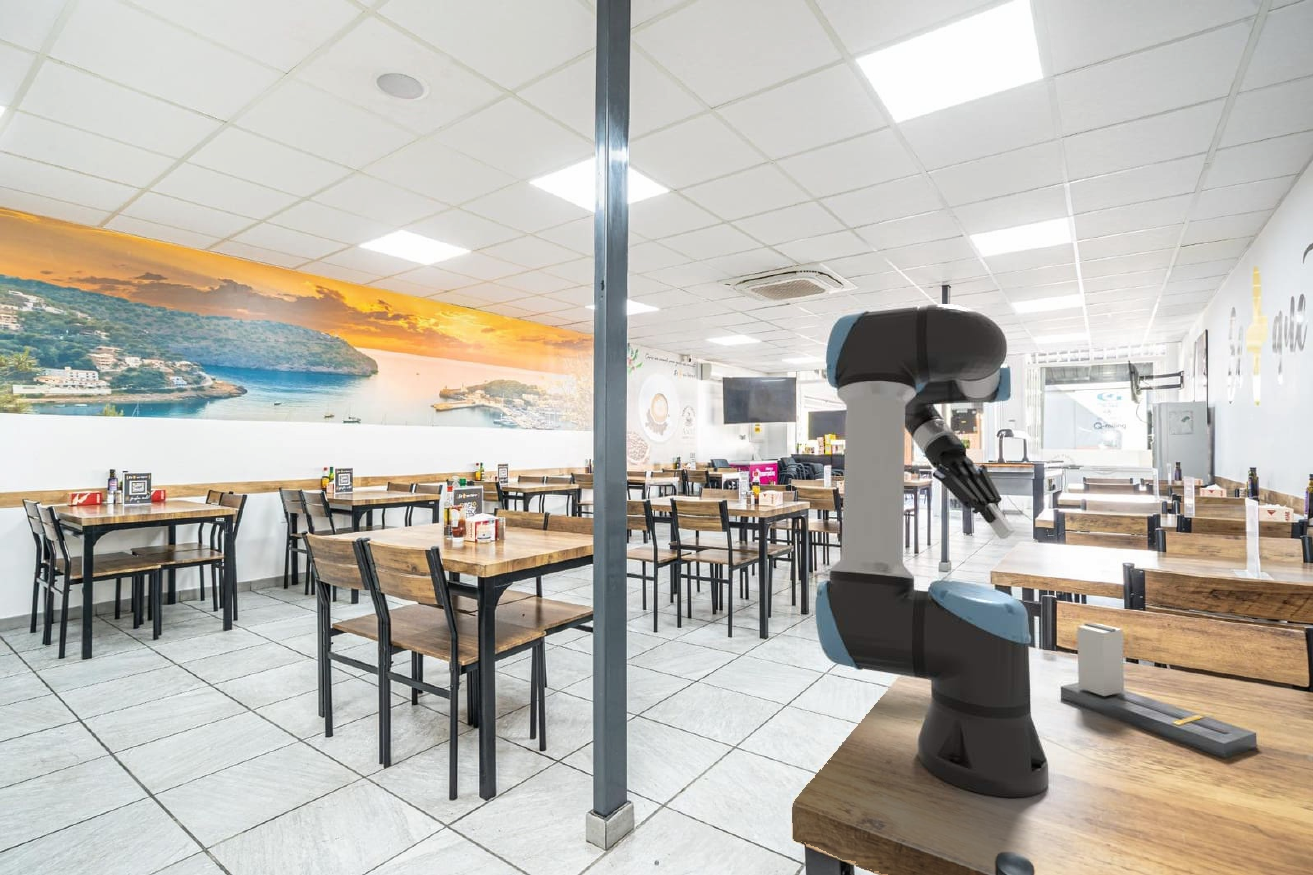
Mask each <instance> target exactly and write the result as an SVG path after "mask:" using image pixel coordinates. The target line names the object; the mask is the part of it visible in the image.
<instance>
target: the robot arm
mask: <svg viewBox="0 0 1313 875" xmlns="http://www.w3.org/2000/svg"><path fill="white" fill-rule="evenodd" d="M1007 345H1008V343H1007V339H1006V336H1005V333H1004V332H1003V330H1002V329H1001V327H999V325H998V324H997V323H996V322H994V320H992V319H991V318H990V317H988V316H986V315H984V314H982V313H980V312H978V311H975V310H973V309H970V308H966V307H964V306H963V307H962V306H960V305H956V304H955V305H954V304H948V303H947V304H945V303H944V304H943V303H937V304H936V303H935V304H928V305H922V306H913V307H904V308H894V309H885V310H876V311H875V310H874V311H869V310H865V311H862V312H859V313H854V314H847V315H844V316H842V317H840V318H839V319H838V320H837V321H836V322H835V323H834V325H833V327H832V329H831V331H830V333H829V338H828V341H827V347H826V353H825V354H826V356H825V364H826V378H827V381H828V384H829V385H830V386H831V387H832V388H835V389H836V391H837V392H836V395H837V398H839V399H840V401H842V403H844V404H845V405H846V412H845V417H846V418H845V439H844V440H845V442H844V467H843V468H844V472H843V473H844V474H843V495H842V496H843V501H842V523H841V524H842V527H841V530H842V531H841V553H840V554H841V556H840V560H838V561H837V562H836V563H835V564H834V565H832V567H830V569H829V579H828V580H827V579H826V580H823V581H821V582H820V583H819V584H818V585H817V588H816V597H815V605H814V606H815V622H816V630H817V634H818V635H817V636H818V639H819V643H820V646H821V649H822V651H823V653H824V654H825V656H826V658H827V659H828V660H829V661H831V663H834V664H838V665H841V666H845V667H851V668H855V669H856V670H859V671H862V670H869V671H874V672H880V673H886V674H894V675H900V676H905V677H912V678H918V679H922V680H923V679H924V680H929V681H930V683H931V684H930V685H931V686H930V687H931V690H930V692H931V694H930V695H931V698H930V703H929V705H928V708H927V711H926V714H925V717H924V719H923V723H922V726H921V729H920V732H919V735H918V740H917V744H918V745H917V747H918V748H917V752H918V754H917V755H918V756H917V757H918V759H919V761H920V763H921V765H922V766H923V767H924V768H925V769H927V771H929V772H930V773H931V774H933V775H934V776H935V777H936V778H939V779H940V780H943V781H945V782H947V783H949V784H951V785H953V786H956V787H959V788H962V789H964V790H967V791H970V792H975V793H979V794H981V795H982V794H984V795H987V796H994V797H1004V798H1005V797H1006V798H1022V797H1029V796H1033V795H1038V794H1040V793H1042V792H1043V791H1044V790H1045V789H1046V788H1047V787H1048V785H1049V763H1048V759H1047V756H1046V753H1045V751H1044V749H1043V745H1042V743H1041V740H1040V737H1039V734H1038V731H1037V729H1036V726H1035V724H1034V723H1035V722H1034V721H1033V718H1032V714H1031V713H1032V711H1031V710H1032V709H1031V708H1032V707H1031V675H1030V674H1031V673H1030V651H1029V650H1030V648H1029V647H1030V646H1029V644H1030V643H1032V642H1031V641H1032V636H1031V633H1030V628H1029V627H1030V626H1029V618H1028V616H1029V615H1028V611H1027V609H1026V607H1025V605H1024V604H1023V603H1022V602H1021V601H1020V600H1018V599H1017V598H1016V597H1014V596H1012V595H1010V594H1008V593H1006V592H1003V591H1000V590H997V589H995V588H991V587H988V586H984V585H980V584H975V583H971V582H970V583H969V582H964V581H963V582H962V581H958V580H951V581H950V580H943V579H942V580H940V579H939V580H935V581H931V582H930V584H929V587H928V589H927V591H926V590H918V589H915V576H914V574H912V572H910V570H908V569H907V567H906V566H905V564H904V525H905V524H904V522H905V520H904V518H905V517H904V515H905V514H904V513H905V512H904V511H905V510H904V509H905V454H906V453H905V452H906V450H905V443H906V442H905V440H906V439H905V438H906V437H905V436H906V431H907V433H908V434H909V435H910V436H911V438H912V439H913V440H914V443H915V444H916V445H917V446H918V448H919V450H920V451H921V452H922V453H923V455H924V456H925V457H926V459H927V460H928V461H929V463H930V465H931V466H932V467H933V468H935V470H934V472H933V473H932V475H931V476H933V477H934V478H935V479H937V480H938V481H939V482H941V483H942V484H943V485H944V487H945V488H947V489H948V491H950V493H951V494H952V495H953V496H954V497H955V498H956V499H957V500H958V501H959V502H960V503H961V504H962V505H963V506H964V507H965V508H966V509H968V510H971V509H973V510H972V513H973V514H975V515H977V514H978V513H979V514H980V515H981V516H982V518H983V519H984V520H985V522H986V523H987V524H989V526H990V527H991V529H992V530H993V531H994V533H995V534H996V535H997V537H998V538H999V539H1000V540H1006V539H1008V538H1009V537H1010V536H1012V534H1013V533H1014V532H1015V531H1016V529H1015V528H1014V526H1012V524H1011V523H1010V522H1009V520H1008V519H1007V518H1006V515H1005V514H1004V513H1003V511H1002V510H1001V509H1000V507H999V506H998V504H999V503H1000V502H1001V501H1002V497H1001V495H1000V494H999V491H998V490H997V489H998V488H996V486H995V483H994V482H993V481H992V480H993V479H991V476H990V475H989V473H988V467H987V466H986V465H985V464H982V465H980V466H978V465H976V464H974V463H975V462H974V461H973V460H971V459H970V458H969V457H968V456H967V447H966V446H965V444H964V443H963V442H962V440H961V439H960V437H958V436H957V435H956V433H955V432H954V430H953V429H951V428H952V427H950V426H949V425H948V424H947V422H946V421H945V420H944V418H943V417H942V415H941V414H940V412H938V410H937V409H936V407H935V405H947V404H948V405H950V404H969V403H970V404H974V403H976V404H977V403H989V404H992V403H993V404H994V403H999V402H1006V401H1009V399H1011V397H1012V394H1011V393H1012V391H1011V379H1012V378H1011V367H1010V366H1009V365H1008V364H1007V363H1006V364H1005V363H1004V362H1005V361H1006V357H1007V352H1008V351H1007V350H1008V346H1007ZM1003 363H1004V364H1003Z"/></svg>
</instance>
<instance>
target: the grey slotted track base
mask: <svg viewBox="0 0 1313 875" xmlns="http://www.w3.org/2000/svg"><path fill="white" fill-rule="evenodd" d="M1060 699H1061V700H1064V701H1066V702H1069V703H1071V704H1074V705H1078V706H1080V707H1083V708H1085V709H1088V710H1090V711H1094V712H1097V713H1099V714H1102V715H1105V716H1107V717H1110V718H1113V719H1115V720H1117V721H1122V722H1124V723H1126V724H1129V725H1132V726H1135V727H1138V728H1139V729H1142V730H1146V731H1148V732H1151V733H1153V734H1156V735H1159V736H1162V737H1165V738H1167V739H1170V740H1173V741H1176V742H1178V743H1180V744H1183V745H1187V746H1189V747H1191V748H1195V749H1197V750H1200V751H1203V752H1205V753H1209V754H1211V755H1213V756H1216V757H1219V758H1222V759H1228V758H1230V757H1233V756H1236V755H1238V754H1241V753H1245V752H1247V751H1250V750H1253V749H1255V748H1257V747H1258V746H1257V742H1258V741H1257V732H1255V731H1253V730H1249V729H1247V728H1246V729H1245V728H1243V727H1239V726H1236V725H1234V724H1231V723H1227V722H1224V721H1222V720H1218V719H1215V718H1213V717H1209V716H1206V715H1202V714H1199V713H1197V712H1194V711H1191V710H1187V709H1184V708H1181V707H1178V706H1174V705H1172V704H1168V703H1166V702H1162V701H1159V700H1156V699H1153V698H1150V697H1147V696H1145V695H1144V696H1143V695H1141V694H1137V693H1135V692H1132V691H1129V690H1126V689H1124V692H1120V693H1116V694H1112V695H1108V696H1102V695H1099V694H1096V693H1093V692H1090V691H1087V690H1085V689H1082V688H1079V681H1077V682H1076V683H1075V682H1074V683H1071V684H1070V683H1069V684H1066V685H1062V686H1060Z"/></svg>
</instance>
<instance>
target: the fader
mask: <svg viewBox="0 0 1313 875" xmlns="http://www.w3.org/2000/svg"><path fill="white" fill-rule="evenodd" d="M1076 630H1077V662H1078V663H1077V664H1078V665H1077V668H1078V672H1077V673H1078V682H1079V688H1082V689H1085V690H1087V691H1090V692H1093V693H1096V694H1099V695H1102V696H1108V695H1112V694H1116V693H1120V692H1124V690H1125V678H1124V674H1125V672H1124V671H1125V670H1124V638H1123V636H1124V635H1123V632H1124V631H1123V630H1124V629H1122V628H1119V627H1115V626H1110V625H1106V624H1101V623H1098V622H1097V623H1093V622H1084V625H1079V626H1078V625H1077V627H1076Z"/></svg>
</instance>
